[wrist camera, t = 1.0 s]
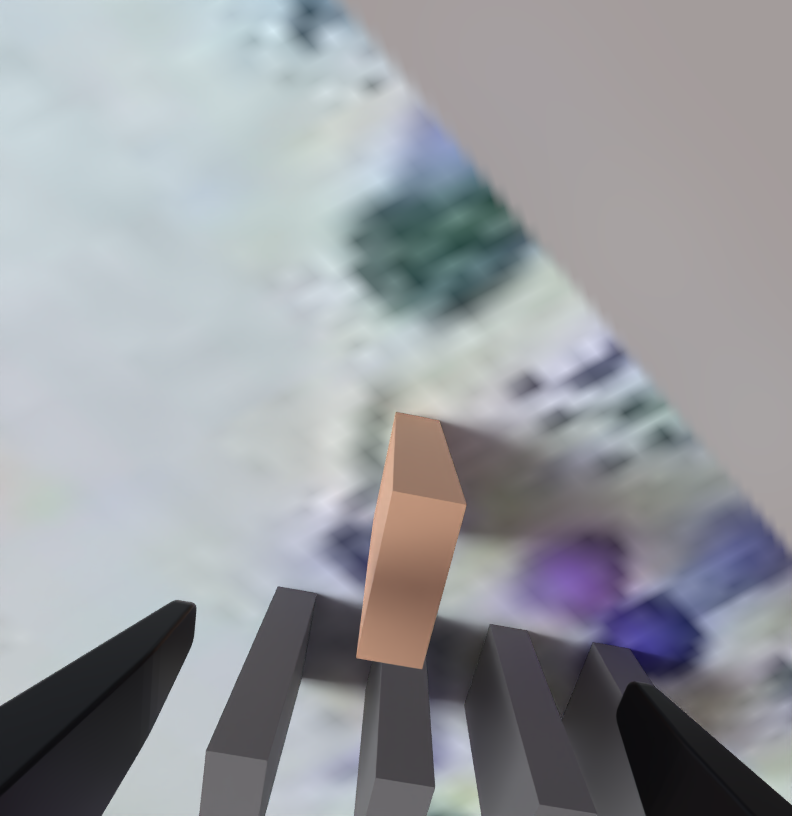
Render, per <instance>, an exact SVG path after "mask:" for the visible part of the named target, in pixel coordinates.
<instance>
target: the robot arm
mask: <svg viewBox="0 0 792 816" xmlns="http://www.w3.org/2000/svg"><path fill="white" fill-rule="evenodd" d="M195 620H196V605H195V604H194V603H192V602H187V601H181V600H175V601H172V602H170V603H169V604H167V605H165V606H164V607H162V608H160V609H159V610H157V611H155V612H154V613H152V614H150V615H149V616H147V617H146V618H144V619H142V620H141V621H139V622H137V623H136V624H134V625H132V626H131V627H129V628H127V629H126V630H124V631H123V632H121V633H119V634H118V635H116V636H114V637H113V638H111V639H109V640H108V641H106V642H104V643H103V644H101V645H100V646H98V647H96V648H95V649H93V650H91V651H90V652H88V653H86V654H85V655H83V656H82V657H80V658H78V659H77V660H75V661H73V662H72V663H70V664H68V665H67V666H65V667H63V668H62V669H60V670H59V671H57V672H55V673H54V674H52V675H50V676H49V677H47V678H45V679H44V680H42V681H40V682H39V683H37V684H36V685H34V686H32V687H31V688H29V689H27V690H26V691H24V692H22V693H21V694H19V695H17V696H16V697H14V698H13V699H11V700H9V701H8V702H6V703H4V704H3V705H1V706H0V816H102V814H103V812H104V811H105V809H106V807H107V806H108V804H109V802H110V801H111V799H112V797H113V796H114V794H115V792H116V790H117V789H118V787H119V785H120V784H121V782H122V780H123V779H124V777H125V775H126V774H127V772H128V770H129V768H130V767H131V765H132V763H133V762H134V760H135V758H136V757H137V755H138V753H139V752H140V750H141V748H142V746H143V744H144V743H145V741H146V739H147V737H148V736H149V734H150V732H151V730H152V728H153V726H154V724H155V722H156V720H157V717H158V715H159V713H160V711H161V709H162V707H163V705H164V703H165V701H166V699H167V697H168V694H169V692H170V690H171V688H172V686H173V684H174V682H175V680H176V678H177V676H178V673H179V671H180V669H181V667H182V665H183V663H184V661H185V659H186V657H187V655H188V653H189V650H190V648H191V646H192V643H193V639H194V631H195ZM616 722H617V726H618V729H619V733H620V736H621V739H622V742H623V746H624V749H625V752H626V755H627V759H628V762H629V765H630V768H631V772H632V775H633V778H634V782H635V785H636V788H637V791H638V795H639V798H640V801H641V804H642V807H643V810H644V813H645V816H792V805H791V804H790V803H789V802H788V801H786V800H785V799H784V798H783V797H782V796H781V795H779V794H778V793H777V792H776V791H775V790H774V789H772V788H771V787H770V786H769V785H768V784H767V783H766V782H764V781H763V780H762V779H761V778H760V777H759V776H757V775H756V774H755V773H754V772H753V771H752V770H751V769H749V768H748V767H747V766H746V765H745V764H744V763H742V762H741V761H740V760H739V759H738V758H737V757H736V756H734V755H733V754H732V753H731V752H730V751H729V750H727V749H726V748H725V747H724V746H723V745H722V744H720V743H719V742H718V741H717V740H716V739H715V738H714V737H712V736H711V735H710V734H709V733H708V732H707V731H705V730H704V729H703V728H702V727H701V726H700V725H699V724H697V723H696V722H695V721H694V720H693V719H692V718H690V717H689V716H688V715H687V714H686V713H685V712H684V711H682V710H681V709H680V708H679V707H678V706H677V705H675V704H674V703H673V702H672V701H671V700H670V699H668V698H667V697H666V696H665V695H664V694H663V693H662V692H660V691H659V690H658V689H657V688H656V687H655V686H653V685H651V684H649V683H644V682H638V681H631V682H629V683H628V684H627V686H626V688H625V691H624V693H623V695H622V698H621V700H620V702H619V704H618V707H617V709H616Z"/></svg>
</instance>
